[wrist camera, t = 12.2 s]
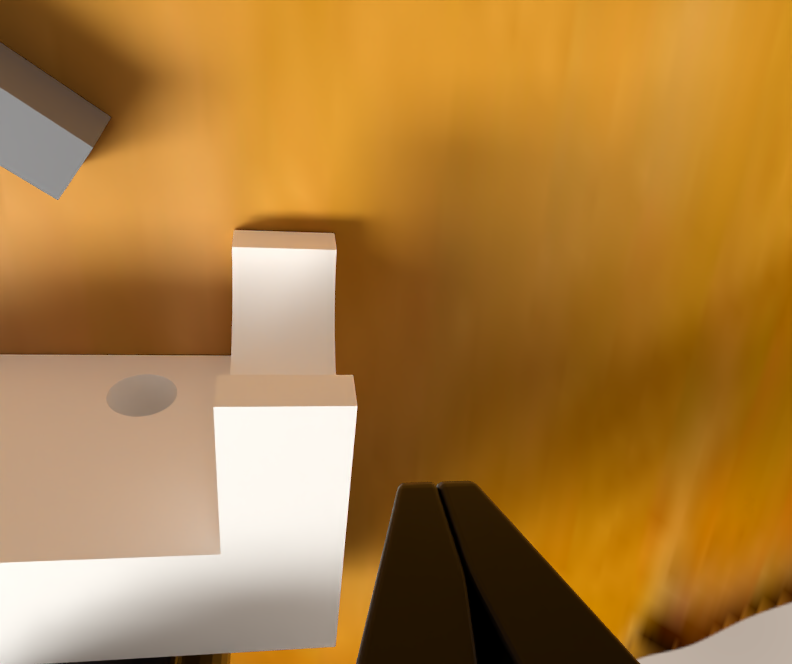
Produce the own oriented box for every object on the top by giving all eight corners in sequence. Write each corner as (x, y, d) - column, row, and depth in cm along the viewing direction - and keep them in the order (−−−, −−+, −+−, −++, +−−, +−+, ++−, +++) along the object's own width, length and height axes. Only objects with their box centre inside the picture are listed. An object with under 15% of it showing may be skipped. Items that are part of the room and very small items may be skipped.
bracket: (321, 445, 24) (334, 233, 19) (335, 646, 18) (357, 406, 14) (-124, 451, 21) (-218, 215, 17) (-274, 682, 16) (-470, 411, 11)
